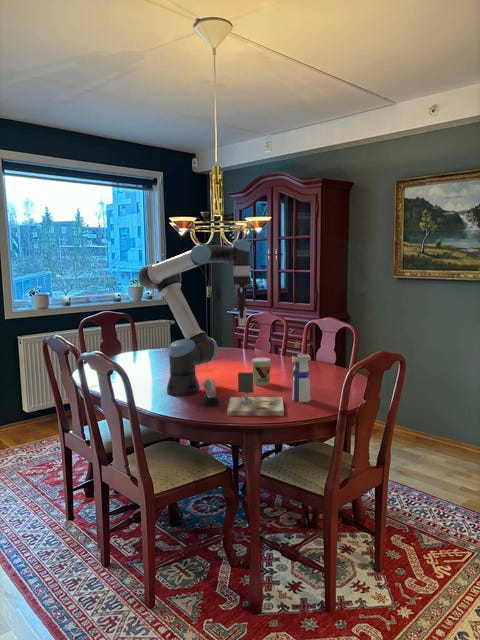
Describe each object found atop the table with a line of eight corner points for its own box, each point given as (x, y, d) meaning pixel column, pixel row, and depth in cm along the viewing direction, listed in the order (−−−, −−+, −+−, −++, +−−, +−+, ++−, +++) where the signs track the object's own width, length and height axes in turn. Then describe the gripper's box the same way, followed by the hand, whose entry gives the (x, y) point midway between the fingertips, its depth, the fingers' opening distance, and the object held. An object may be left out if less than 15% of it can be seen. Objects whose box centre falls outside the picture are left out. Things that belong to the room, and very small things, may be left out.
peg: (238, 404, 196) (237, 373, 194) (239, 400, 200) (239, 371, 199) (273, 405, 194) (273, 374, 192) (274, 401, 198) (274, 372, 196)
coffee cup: (255, 387, 228) (255, 362, 227) (249, 382, 237) (249, 358, 236) (274, 385, 231) (273, 360, 229) (267, 380, 240) (267, 356, 238)
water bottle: (286, 399, 207) (286, 342, 204) (299, 395, 213) (299, 339, 210) (302, 403, 202) (302, 344, 198) (314, 399, 208) (314, 341, 204)
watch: (214, 401, 207) (213, 376, 206) (220, 406, 200) (219, 380, 198) (201, 402, 205) (201, 377, 204) (207, 408, 198) (206, 382, 196)
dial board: (227, 415, 188) (227, 410, 188) (230, 401, 206) (230, 396, 206) (283, 415, 187) (283, 410, 187) (282, 401, 205) (282, 396, 205)
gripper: (249, 276, 200) (250, 327, 203) (251, 274, 225) (251, 319, 228) (231, 277, 201) (232, 327, 203) (235, 274, 225) (235, 319, 228)
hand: (242, 323), depth 216 cm, fingers open, 13 cm apart
